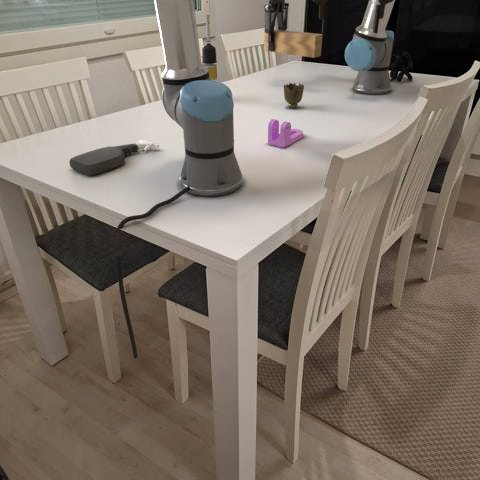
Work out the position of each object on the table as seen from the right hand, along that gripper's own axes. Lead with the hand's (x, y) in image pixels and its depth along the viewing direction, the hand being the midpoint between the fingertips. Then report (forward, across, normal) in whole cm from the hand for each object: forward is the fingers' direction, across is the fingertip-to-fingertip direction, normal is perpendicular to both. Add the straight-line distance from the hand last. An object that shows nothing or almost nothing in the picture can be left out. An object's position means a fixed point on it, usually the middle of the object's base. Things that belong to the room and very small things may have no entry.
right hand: (275, 49), depth 188 cm
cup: (+15, +23, +27) cm, 38 cm away
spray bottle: (+15, +96, +19) cm, 98 cm away
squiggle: (+14, -43, +38) cm, 59 cm away
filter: (+15, +32, -7) cm, 36 cm away
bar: (+1, 0, +8) cm, 8 cm away
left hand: (-15, +43, +58) cm, 74 cm away
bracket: (+15, +53, +46) cm, 72 cm away
